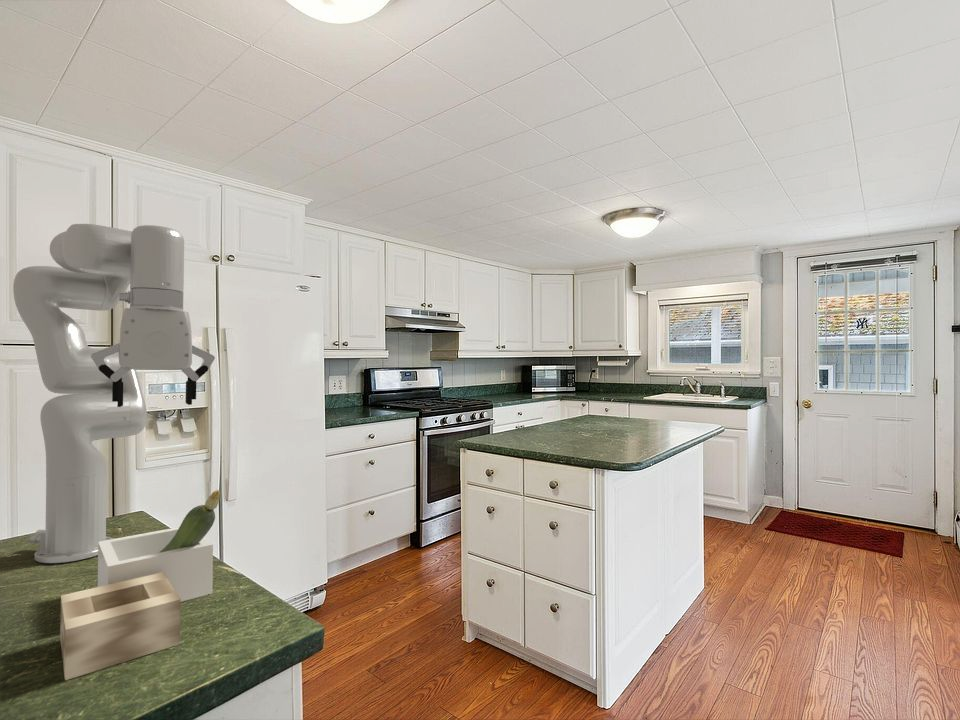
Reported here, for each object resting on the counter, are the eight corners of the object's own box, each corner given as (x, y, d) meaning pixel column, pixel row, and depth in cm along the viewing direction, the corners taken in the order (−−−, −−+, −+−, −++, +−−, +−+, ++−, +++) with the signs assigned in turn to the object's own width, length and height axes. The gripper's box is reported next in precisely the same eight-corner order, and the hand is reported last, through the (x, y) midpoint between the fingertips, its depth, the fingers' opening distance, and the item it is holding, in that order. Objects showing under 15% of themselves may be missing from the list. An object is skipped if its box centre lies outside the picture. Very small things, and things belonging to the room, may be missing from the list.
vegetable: (156, 575, 87) (229, 482, 87) (165, 594, 85) (240, 500, 85) (130, 576, 83) (206, 480, 83) (139, 596, 81) (217, 498, 81)
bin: (107, 621, 74) (107, 566, 74) (97, 589, 85) (98, 541, 85) (212, 593, 84) (212, 544, 84) (192, 568, 94) (192, 524, 94)
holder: (65, 680, 60) (65, 629, 60) (60, 639, 69) (60, 595, 69) (180, 644, 68) (180, 599, 68) (162, 611, 77) (163, 572, 77)
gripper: (90, 295, 77) (88, 409, 77) (218, 304, 87) (216, 405, 87) (93, 300, 83) (91, 405, 83) (212, 308, 93) (210, 401, 93)
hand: (155, 405), depth 85 cm, fingers open, 9 cm apart
